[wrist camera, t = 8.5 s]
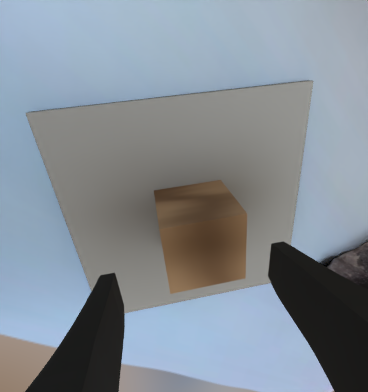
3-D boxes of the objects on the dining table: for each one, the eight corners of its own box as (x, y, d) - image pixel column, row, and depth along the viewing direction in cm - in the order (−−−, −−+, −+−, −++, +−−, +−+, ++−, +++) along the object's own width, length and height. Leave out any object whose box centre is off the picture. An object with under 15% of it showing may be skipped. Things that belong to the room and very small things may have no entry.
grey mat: (102, 312, 23) (101, 317, 22) (29, 111, 15) (25, 113, 14) (282, 275, 25) (285, 279, 24) (307, 80, 17) (313, 80, 16)
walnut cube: (163, 245, 20) (170, 294, 16) (153, 190, 18) (159, 229, 13) (222, 234, 20) (245, 278, 16) (220, 179, 18) (247, 213, 14)
